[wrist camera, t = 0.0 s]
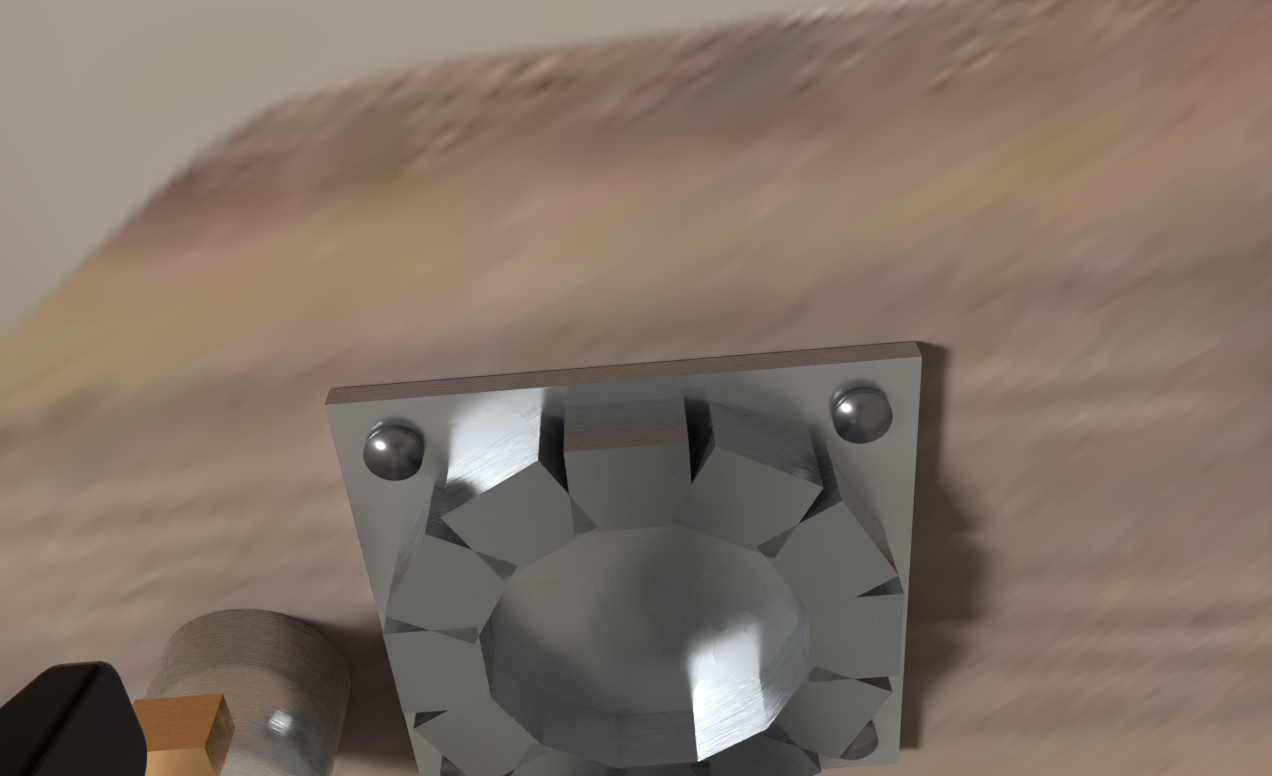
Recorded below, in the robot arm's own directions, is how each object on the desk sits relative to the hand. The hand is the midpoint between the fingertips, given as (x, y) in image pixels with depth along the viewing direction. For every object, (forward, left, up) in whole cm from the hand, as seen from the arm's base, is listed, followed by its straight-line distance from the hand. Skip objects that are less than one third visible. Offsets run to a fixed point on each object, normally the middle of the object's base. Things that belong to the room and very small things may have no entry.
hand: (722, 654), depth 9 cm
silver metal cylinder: (-14, +10, -15) cm, 23 cm away
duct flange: (-12, +1, -15) cm, 19 cm away
